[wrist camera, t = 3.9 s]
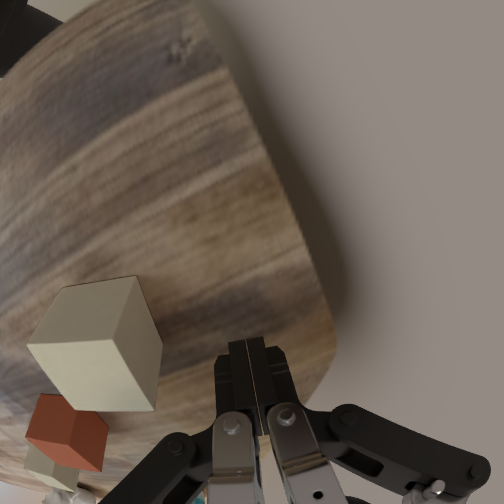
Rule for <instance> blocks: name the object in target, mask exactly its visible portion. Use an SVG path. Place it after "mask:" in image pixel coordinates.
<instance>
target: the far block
mask: <svg viewBox="0 0 504 504" xmlns="http://www.w3.org/2000/svg"><path fill="white" fill-rule="evenodd" d="M24 469H25V470H26V471H28V472H29V473H30V474H32V475H33V476H35V477H36V478H37V479H39V480H40V481H42V482H43V483H45V484H46V485H49V486H52V487H56V488H59V489H63V490H67V491H71V492H76V488H77V482H78V476H79V470H80V469H77V468H72V467H66V466H62V465H58V464H57V463H55V462H54V461H53V460H52V459H50V458H49V457H48V456H46V455H45V454H44V453H43V452H42V451H40V450H39V449H38V448H37V447H36V446H35V445H33V444H32V443H31V444H30V447H29V451H28V454H27V458H26V461H25V465H24Z"/></svg>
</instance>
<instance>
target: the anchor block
mask: <svg viewBox="0 0 504 504" xmlns="http://www.w3.org/2000/svg"><path fill="white" fill-rule="evenodd" d="M108 429H109V427H108V426H107V425H106V424H105V423H104V422H103V421H102V419H101V418H100V417H99V416H98V415H97V414H96V413H95V411H85V410H75V409H74V408H73V407H72V406H71V405H70V403H69V402H68V401H67V400H66V399H65V397H64V396H61V395H47V394H41V395H40V397H39V400H38V402H37V405H36V408H35V410H34V413H33V416H32V418H31V421H30V424H29V427H28V430H27V433H26V436H25V437H26V438H27V439H28V440H29V441H30V442H31V443H32V444H33V445H35V446H36V447H37V448H38V449H39V450H40V451H42V452H43V453H44V454H45V455H46V456H48V457H49V458H50V459H52V460H53V461H54V462H55V463H57V464H58V465H62V466H66V467H72V468H77V469H83V470H89V471H96V472H102V465H103V459H104V452H105V446H106V440H107V435H108Z"/></svg>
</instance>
